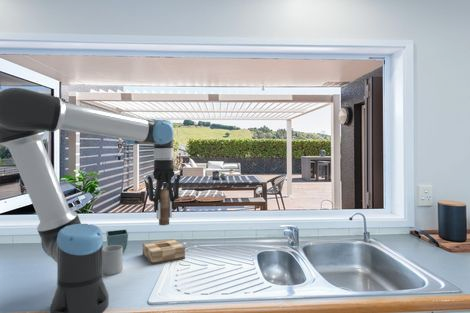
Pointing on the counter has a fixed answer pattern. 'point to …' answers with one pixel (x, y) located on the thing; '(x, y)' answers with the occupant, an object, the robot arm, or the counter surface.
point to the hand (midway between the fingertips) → (164, 217)
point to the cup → (112, 260)
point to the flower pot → (117, 238)
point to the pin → (164, 207)
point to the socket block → (163, 251)
